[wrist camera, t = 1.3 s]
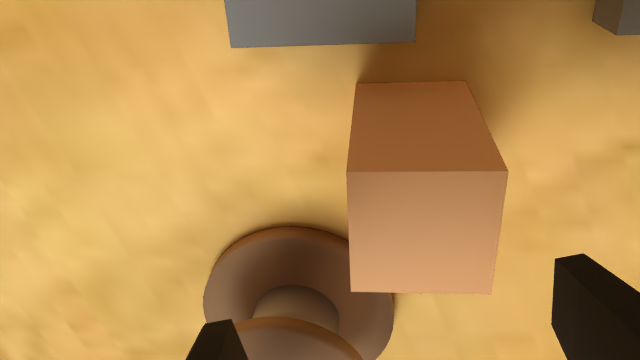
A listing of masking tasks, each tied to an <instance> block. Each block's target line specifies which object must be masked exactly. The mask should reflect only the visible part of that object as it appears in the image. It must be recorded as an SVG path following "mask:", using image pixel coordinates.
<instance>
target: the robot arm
mask: <svg viewBox="0 0 640 360" xmlns="http://www.w3.org/2000/svg"><path fill="white" fill-rule="evenodd" d="M551 325H552V327H553V329H554V331H555V334H556V336H557V338H558V340H559V343H560V345H561V347H562V349H563V351H564V353H565V356H566V358H567V360H640V292H638V291H637V290H635V289H634V288H632V287H631V286H630V285H628V284H627V283H625V282H624V281H622V280H621V279H620V278H618V277H617V276H615V275H614V274H612V273H611V272H610V271H608V270H607V269H605V268H604V267H602V266H601V265H600V264H598V263H597V262H595V261H594V260H592V259H591V258H590V257H588V256H587V255H585V254H584V253H583V254H578V255H572V256H567V257H562V258H556V259H555V268H554V286H553V305H552V323H551ZM186 360H248V357H247V355H246V352H245V350H244V348H243V345H242V343H241V340H240V338H239V335H238V333H237V331H236V328H235V326H234V323H233V321H232V319H227V320H221V321H216V322H211V323H205V325H204V326H203V327H202V329H201V331H200V333H199V335H198V337H197V339H196V341H195V343H194V344H193V346H192V348H191V350H190V352H189V354H188V356H187V358H186Z"/></svg>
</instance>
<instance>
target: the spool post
mask: <svg viewBox="0 0 640 360" xmlns="http://www.w3.org/2000/svg"><path fill="white" fill-rule="evenodd" d="M203 308H204V315H205V318H206V322H207V323H211V322H216V321H221V320H227V319H232V321H233V323H234V326H235V328H236V331H237V333H238V335H239V338H240V340H241V343H242V345H243V348H244V350H245V352H246V355H247V357H248V360H375V359H376V358H377V357H378V356H379V355H380V354H381V353H382V351H383V350H384V349H385V347H386V346H387V344H388V342H389V339H390V337H391V333H392V330H393V299H392V293H390V292H351V283H350V256H349V241H347V240H345V239H344V238H341V237H339V236H336V235H334V234H331V233H328V232H325V231H321V230H317V229H311V228H306V227H277V228H271V229H265V230H262V231H258V232H255V233H253V234H250V235H248V236H246V237H244V238H242V239H240V240H239V241H237V242H235V243H234V244H233V245H231V246H230V247H229V248H228V249H227V250H226V251H225V252H224V253H223V254H222V255H221V256H220V258H219V259H218V261H217V263H216V264H215V266H214V268H213V271H212V273H211V275H210V277H209V280H208V282H207V285H206V287H205V291H204V296H203Z"/></svg>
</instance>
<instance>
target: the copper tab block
mask: <svg viewBox="0 0 640 360" xmlns="http://www.w3.org/2000/svg"><path fill="white" fill-rule="evenodd" d="M346 176H347V203H348V230H349V256H350V283H351V292H390V293H435V294H481V295H491V292H492V285H493V278H494V271H495V264H496V256H497V249H498V242H499V235H500V228H501V221H502V213H503V206H504V199H505V192H506V185H507V178H508V169H507V167H506V165H505V163H504V161H503V159H502V157H501V155H500V153H499V150H498V148H497V146H496V144H495V142H494V140H493V138H492V136H491V134H490V132H489V129H488V127H487V125H486V123H485V121H484V119H483V117H482V115H481V113H480V111H479V108H478V106H477V104H476V102H475V100H474V98H473V96H472V94H471V92H470V90H469V87H468V85H467V83H466V81H437V82H395V83H356V89H355V98H354V107H353V116H352V125H351V134H350V143H349V152H348V161H347V171H346Z"/></svg>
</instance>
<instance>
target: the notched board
mask: <svg viewBox="0 0 640 360" xmlns="http://www.w3.org/2000/svg"><path fill="white" fill-rule="evenodd" d="M224 3H225V10H226V16H227V23H228V30H229V37H230V44H231V48H250V47H280V46H310V45H340V44H371V43H401V42H415V38H416V8H417V0H224ZM592 21H593V22H595V23H596V24H598V25H600V26H601V27H603V28H605V29H606V30H608V31H610V32H612V33H613V34H615V35H640V0H596V4H595V9H594V14H593V19H592Z"/></svg>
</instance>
